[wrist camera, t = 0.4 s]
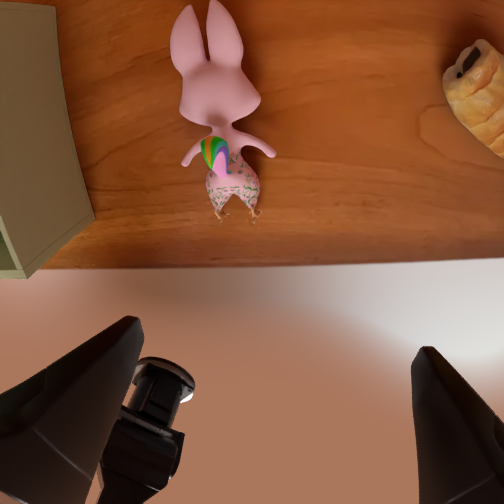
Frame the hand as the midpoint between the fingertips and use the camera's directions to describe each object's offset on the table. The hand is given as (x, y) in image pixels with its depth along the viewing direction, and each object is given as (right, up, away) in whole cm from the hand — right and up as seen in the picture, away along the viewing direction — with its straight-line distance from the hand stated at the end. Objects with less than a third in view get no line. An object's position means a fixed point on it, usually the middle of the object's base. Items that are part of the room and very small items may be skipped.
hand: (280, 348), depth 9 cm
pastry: (+16, +14, +6) cm, 22 cm away
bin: (-22, +14, +12) cm, 29 cm away
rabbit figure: (-2, +12, +10) cm, 16 cm away
